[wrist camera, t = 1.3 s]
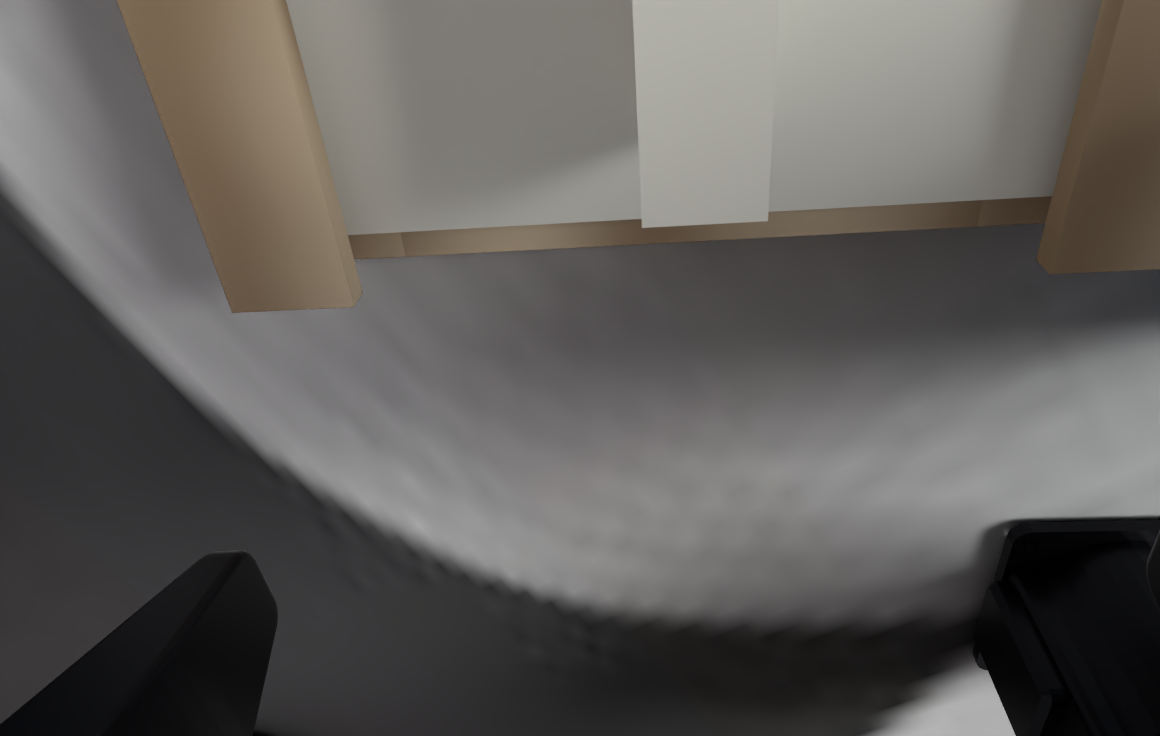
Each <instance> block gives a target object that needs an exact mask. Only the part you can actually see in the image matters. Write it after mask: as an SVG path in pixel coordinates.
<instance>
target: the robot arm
mask: <svg viewBox="0 0 1160 736" xmlns="http://www.w3.org/2000/svg"><path fill="white" fill-rule="evenodd" d="M1027 539H1028V540H1027ZM277 622H278V608H277V603H276V600H275V597H274V595H273V593H272V591H271V589H270V587H269V585H268V583H267V581H266V579H265V577H264V575H263V573H262V571H261V569H260V567H259V565H258V563H257V561H256V559H255V558H254V556H253V555H252V554H250V553H249V552H248V551H243V550H238V551H219V552H212V553H209V554H207V555H205V556H203V557H202V558H201V559H199V560H198V561H197V562H196V563H195V564H193V565H192V566H191V567H190V568H188V569H187V570H186V571H185V572H184V573H182V574H181V575H180V576H179V577H178V578H176V579H175V580H174V581H173V582H172V583H170V584H169V585H168V586H167V587H166V588H164V589H163V590H162V591H161V592H160V593H158V594H157V595H156V596H155V597H153V598H152V599H151V600H150V601H149V602H147V603H146V604H145V605H144V606H143V607H141V608H140V609H139V610H138V611H137V612H135V613H134V614H133V615H132V616H131V617H129V618H128V619H127V620H126V621H124V622H123V623H122V624H121V625H120V626H118V627H117V628H116V629H115V630H114V631H112V632H111V633H110V634H109V635H108V636H106V637H105V638H104V639H103V640H102V641H100V642H99V643H98V644H97V645H96V646H94V647H93V648H92V649H91V650H89V651H88V652H87V653H86V654H85V655H83V656H82V657H81V658H80V659H79V660H77V661H76V662H75V663H74V664H73V665H71V666H70V667H69V668H68V669H67V670H65V671H64V672H63V673H62V674H60V675H59V676H58V677H57V678H56V679H54V680H53V681H52V682H51V683H50V684H48V685H47V686H46V687H45V688H44V689H42V690H41V691H40V692H39V693H38V694H36V695H35V696H34V697H33V698H32V699H30V700H29V701H28V702H27V703H25V704H24V705H23V706H22V707H21V708H19V709H18V710H17V711H16V712H15V713H13V714H12V715H11V716H10V717H9V718H7V719H6V720H5V721H4V722H3V723H1V724H0V736H253V732H254V727H255V723H256V718H257V714H258V709H259V705H260V700H261V695H262V691H263V686H264V682H265V677H266V673H267V668H268V664H269V659H270V655H271V650H272V646H273V641H274V637H275V632H276V628H277ZM974 639H975V641H976V642H975V645H974V648H973V656H974V658H975V661H976V663H977V665H978V666H979V668H982V669H984V670H988V672H989V674H990V676H991V679H992V681H993V683H994V686H995V688H996V690H997V693H998V695H999V697H1000V700H1001V702H1002V704H1003V707H1004V709H1005V711H1006V714H1007V716H1008V718H1009V721H1010V723H1011V725H1012V728H1013V730H1014V732H1015V735H1016V736H1160V520H1135V521H1086V522H1036V523H1023V524H1019V525H1017V526H1015V527H1014V528H1012V529H1011V530H1010V531H1009V533H1008V535H1007V537H1006V541H1005V544H1004V547H1003V551H1002V554H1001V558H1000V561H999V564H998V568H997V571H996V574H995V578H994V580H993V581H992V583H991V584H990V585H989V586H988V588H987V591H986V595H985V598H984V601H983V605H982V608H981V612H980V615H979V619H978V622H977V625H976V629H975V632H974Z"/></svg>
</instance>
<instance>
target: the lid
mask: <svg viewBox="0 0 1160 736" xmlns="http://www.w3.org/2000/svg"><path fill="white" fill-rule="evenodd" d="M286 2H287V6H288V10H289V13H290V17H291V21H292V25H293V29H294V32H295V36H296V40H297V44H298V48H299V52H300V55H301V59H302V63H303V67H304V71H305V74H306V78H307V82H308V86H309V90H310V93H311V97H312V101H313V105H314V109H315V113H316V116H317V120H318V124H319V128H320V132H321V135H322V139H323V143H324V147H325V151H326V154H327V158H328V162H329V166H330V170H331V174H332V177H333V181H334V185H335V189H336V193H337V196H338V200H339V204H340V208H341V212H342V215H343V219H344V223H345V227H346V231H347V235H360V234H378V233H396V232H414V231H433V230H451V229H469V228H487V227H505V226H523V225H541V224H559V223H577V222H595V221H613V220H631V219H642V228H651V227H669V226H687V225H706V224H724V223H743V222H761V221H768V212H775V211H793V210H811V209H830V208H848V207H866V206H884V205H902V204H920V203H938V202H956V201H974V200H992V199H1010V198H1028V197H1046V196H1052V195H1053V191H1054V187H1055V183H1056V179H1057V175H1058V172H1059V168H1060V164H1061V160H1062V156H1063V152H1064V148H1065V144H1066V140H1067V136H1068V133H1069V129H1070V125H1071V121H1072V117H1073V113H1074V109H1075V105H1076V101H1077V97H1078V94H1079V90H1080V86H1081V82H1082V78H1083V74H1084V70H1085V66H1086V62H1087V59H1088V55H1089V51H1090V47H1091V43H1092V39H1093V35H1094V31H1095V27H1096V23H1097V20H1098V16H1099V12H1100V8H1101V4H1102V0H286Z"/></svg>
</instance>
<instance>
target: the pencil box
mask: <svg viewBox="0 0 1160 736" xmlns="http://www.w3.org/2000/svg"><path fill="white" fill-rule="evenodd" d="M117 3H118V6H119V8H120V11H121V14H122V17H123V19H124V22H125V25H126V27H127V30H128V33H129V36H130V38H131V41H132V44H133V46H134V49H135V52H136V54H137V57H138V60H139V63H140V65H141V68H142V71H143V73H144V76H145V79H146V81H147V84H148V87H149V90H150V92H151V95H152V98H153V100H154V103H155V106H156V108H157V111H158V114H159V117H160V119H161V122H162V125H163V127H164V130H165V133H166V135H167V138H168V141H169V144H170V146H171V149H172V152H173V154H174V157H175V160H176V162H177V165H178V168H179V171H180V173H181V176H182V179H183V181H184V184H185V187H186V190H187V192H188V195H189V198H190V200H191V203H192V206H193V208H194V211H195V214H196V217H197V219H198V222H199V225H200V227H201V230H202V233H203V235H204V238H205V241H206V244H207V246H208V249H209V252H210V254H211V257H212V260H213V262H214V265H215V268H216V271H217V273H218V276H219V279H220V281H221V284H222V287H223V289H224V292H225V295H226V298H227V300H228V303H229V306H230V308H231V311H232V313H239V312H260V311H281V310H303V309H324V308H345V307H354V306H355V305H356V303H357V301H358V300H359V298H360V296H361V295H362V293H363V292H362V288H361V284H360V280H359V276H358V273H357V269H356V265H355V261H354V259H371V258H390V257H409V256H428V255H447V254H466V253H485V252H504V251H523V250H542V249H561V248H580V247H599V246H618V245H637V244H656V243H675V242H694V241H713V240H732V239H751V238H770V237H789V236H808V235H827V234H847V233H866V232H885V231H904V230H923V229H942V228H961V227H980V226H999V225H1018V224H1037V223H1045V226H1044V230H1043V234H1042V238H1041V242H1040V246H1039V249H1038V253H1037V257H1036V260H1037V262H1038V263H1039V264H1040V265H1041V266H1042V267H1043V268H1044V269H1045V270H1046V271H1047V272H1048V273H1049V274H1069V273H1090V272H1111V271H1133V270H1154V269H1160V0H1102V4H1101V8H1100V12H1099V16H1098V20H1097V23H1096V27H1095V31H1094V35H1093V39H1092V43H1091V47H1090V51H1089V55H1088V59H1087V62H1086V66H1085V70H1084V74H1083V78H1082V82H1081V86H1080V90H1079V94H1078V97H1077V101H1076V105H1075V109H1074V113H1073V117H1072V121H1071V125H1070V129H1069V133H1068V136H1067V140H1066V144H1065V148H1064V152H1063V156H1062V160H1061V164H1060V168H1059V172H1058V175H1057V179H1056V183H1055V187H1054V191H1053V195H1052V196H1046V197H1028V198H1010V199H992V200H974V201H956V202H938V203H920V204H902V205H884V206H866V207H848V208H830V209H811V210H793V211H775V212H768V221H761V222H743V223H724V224H706V225H687V226H669V227H651V228H642V219H631V220H613V221H595V222H577V223H559V224H541V225H523V226H505V227H487V228H469V229H451V230H433V231H414V232H396V233H378V234H360V235H347V231H346V227H345V223H344V219H343V215H342V212H341V208H340V204H339V200H338V196H337V193H336V189H335V185H334V181H333V177H332V174H331V170H330V166H329V162H328V158H327V154H326V151H325V147H324V143H323V139H322V135H321V132H320V128H319V124H318V120H317V116H316V113H315V109H314V105H313V101H312V97H311V93H310V90H309V86H308V82H307V78H306V74H305V71H304V67H303V63H302V59H301V55H300V52H299V48H298V44H297V40H296V36H295V32H294V29H293V25H292V21H291V17H290V13H289V10H288V6H287V2H286V0H117Z"/></svg>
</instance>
